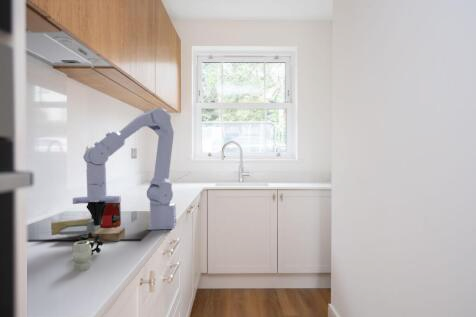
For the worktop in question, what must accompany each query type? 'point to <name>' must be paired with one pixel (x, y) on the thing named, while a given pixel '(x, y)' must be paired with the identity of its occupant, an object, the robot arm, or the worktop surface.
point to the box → (108, 234)
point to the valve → (85, 251)
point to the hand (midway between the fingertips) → (97, 225)
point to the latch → (67, 225)
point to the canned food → (111, 215)
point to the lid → (80, 229)
